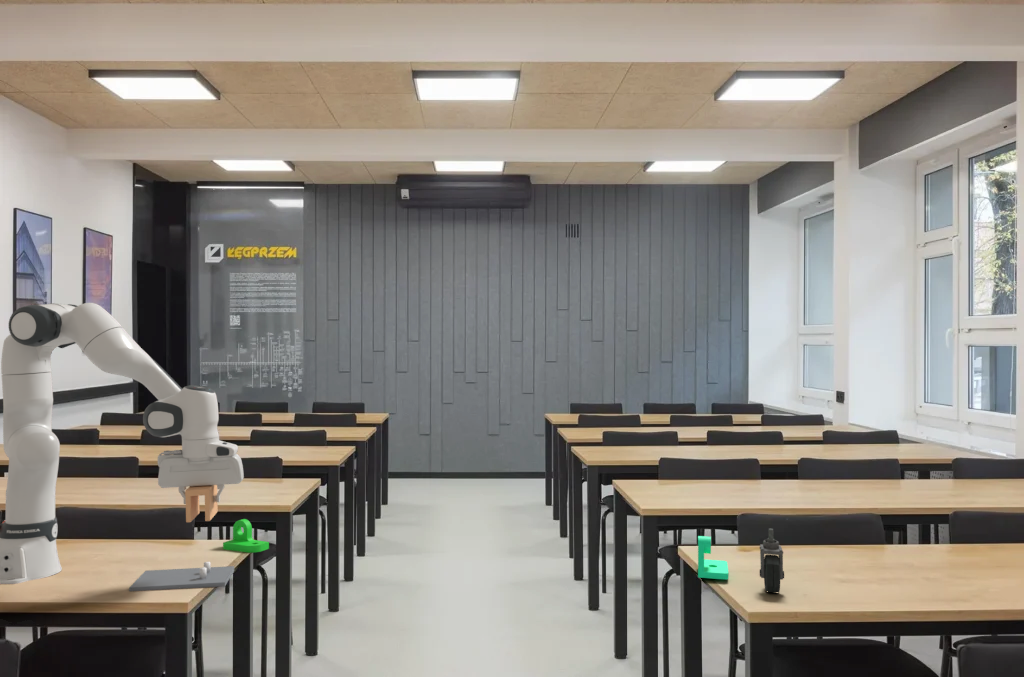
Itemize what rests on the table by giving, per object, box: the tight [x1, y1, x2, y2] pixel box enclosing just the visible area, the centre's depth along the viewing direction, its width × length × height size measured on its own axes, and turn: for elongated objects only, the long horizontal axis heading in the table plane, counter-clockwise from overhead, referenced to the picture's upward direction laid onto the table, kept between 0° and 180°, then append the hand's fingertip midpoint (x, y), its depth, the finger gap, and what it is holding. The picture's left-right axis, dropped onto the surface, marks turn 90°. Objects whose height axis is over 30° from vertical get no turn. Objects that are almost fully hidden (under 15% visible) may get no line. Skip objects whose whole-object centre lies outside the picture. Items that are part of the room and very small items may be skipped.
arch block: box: [184, 485, 219, 523], centre depth 192 cm, size 6×10×8 cm, turn 11°
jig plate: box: [128, 561, 235, 592], centre depth 191 cm, size 22×14×4 cm, turn 101°
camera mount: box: [697, 535, 729, 580], centre depth 199 cm, size 12×8×10 cm, turn 166°
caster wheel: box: [759, 528, 785, 593], centre depth 185 cm, size 6×10×15 cm, turn 165°
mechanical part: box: [222, 518, 270, 554], centre depth 223 cm, size 12×6×8 cm, turn 67°
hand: (202, 502), depth 192 cm, fingers closed on arch block, 6 cm apart
